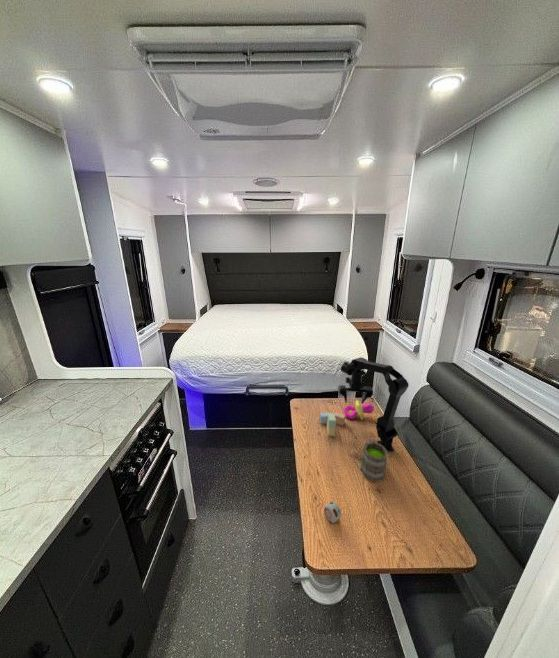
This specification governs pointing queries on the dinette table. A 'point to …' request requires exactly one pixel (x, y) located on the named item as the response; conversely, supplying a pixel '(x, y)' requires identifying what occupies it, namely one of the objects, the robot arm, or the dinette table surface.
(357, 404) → the toy
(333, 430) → the mustard brick
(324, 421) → the slate brick
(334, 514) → the roller toy
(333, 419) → the green brick
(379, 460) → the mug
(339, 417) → the terracotta brick
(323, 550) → the dinette table surface
